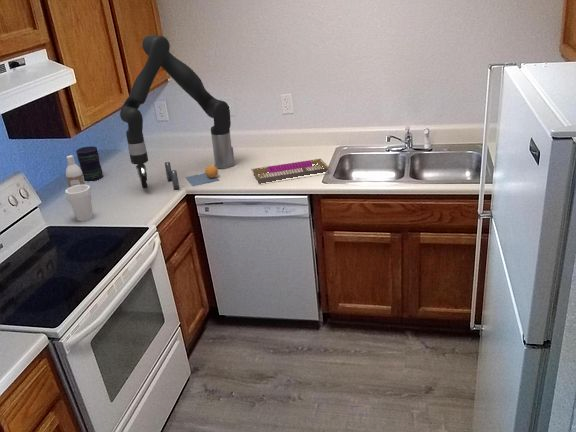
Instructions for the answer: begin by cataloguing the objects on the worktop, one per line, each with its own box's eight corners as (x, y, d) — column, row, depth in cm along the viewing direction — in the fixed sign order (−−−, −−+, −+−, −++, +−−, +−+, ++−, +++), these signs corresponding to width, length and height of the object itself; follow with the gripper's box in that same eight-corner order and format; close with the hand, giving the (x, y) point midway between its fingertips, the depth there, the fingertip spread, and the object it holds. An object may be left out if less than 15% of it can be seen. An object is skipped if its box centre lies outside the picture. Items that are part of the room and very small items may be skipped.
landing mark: (211, 172, 258) (211, 171, 258) (219, 180, 247) (219, 180, 247) (185, 177, 253) (185, 177, 253) (192, 186, 243) (192, 185, 243)
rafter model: (321, 165, 259) (320, 153, 256) (330, 175, 246) (330, 162, 243) (251, 175, 251) (250, 163, 249) (257, 186, 239) (256, 173, 236)
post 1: (172, 179, 252) (169, 161, 249) (173, 180, 250) (170, 163, 246) (167, 180, 252) (163, 162, 248) (168, 182, 249) (165, 164, 245)
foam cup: (76, 214, 222) (69, 185, 216) (98, 212, 222) (92, 183, 217) (70, 223, 213) (62, 194, 208) (93, 221, 214) (86, 192, 208)
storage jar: (107, 177, 261) (100, 148, 254) (89, 183, 254) (82, 154, 248) (97, 173, 267) (90, 145, 261) (79, 179, 261) (72, 150, 254)
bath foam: (71, 202, 234) (60, 159, 226) (73, 196, 240) (62, 154, 232) (87, 199, 235) (76, 157, 227) (89, 194, 242) (79, 152, 233)
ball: (216, 164, 253) (204, 163, 250) (220, 167, 248) (207, 166, 245) (215, 176, 255) (203, 175, 252) (218, 180, 250) (206, 179, 247)
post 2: (178, 188, 241) (175, 169, 238) (180, 189, 239) (177, 171, 235) (173, 189, 241) (170, 170, 237) (174, 191, 238) (171, 172, 235)
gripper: (149, 154, 229) (156, 191, 236) (143, 146, 240) (150, 181, 247) (131, 157, 226) (139, 194, 233) (127, 149, 237) (134, 185, 244)
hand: (144, 187), depth 240 cm, fingers closed
